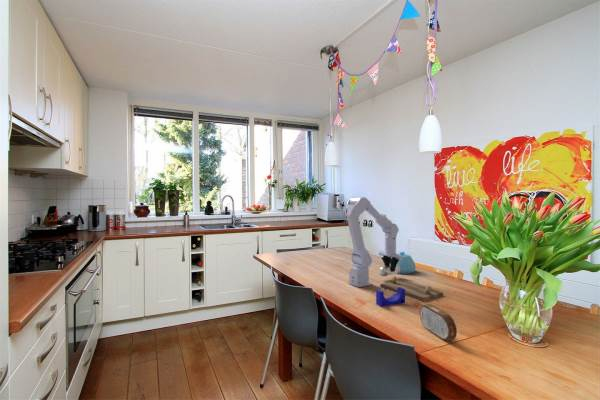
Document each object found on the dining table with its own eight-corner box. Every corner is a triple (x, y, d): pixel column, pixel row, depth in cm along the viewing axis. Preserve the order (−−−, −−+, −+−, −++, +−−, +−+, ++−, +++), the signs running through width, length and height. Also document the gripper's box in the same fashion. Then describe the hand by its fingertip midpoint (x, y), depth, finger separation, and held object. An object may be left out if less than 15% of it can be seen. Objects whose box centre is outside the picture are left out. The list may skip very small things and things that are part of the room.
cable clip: (398, 300, 130) (398, 286, 130) (405, 303, 126) (405, 289, 126) (374, 303, 127) (374, 289, 126) (380, 307, 122) (380, 292, 122)
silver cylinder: (384, 276, 157) (384, 268, 157) (378, 274, 160) (378, 267, 160) (401, 272, 164) (401, 265, 164) (396, 271, 167) (396, 264, 167)
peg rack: (423, 301, 128) (423, 291, 128) (380, 287, 148) (380, 277, 148) (442, 295, 135) (442, 285, 135) (399, 282, 155) (399, 273, 155)
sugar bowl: (419, 274, 171) (419, 254, 171) (392, 274, 171) (392, 254, 171) (410, 268, 186) (410, 249, 186) (385, 268, 186) (385, 249, 186)
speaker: (457, 344, 91) (457, 317, 91) (448, 345, 91) (448, 318, 90) (425, 324, 106) (426, 300, 106) (418, 324, 105) (418, 300, 105)
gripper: (406, 246, 157) (406, 272, 158) (385, 243, 170) (385, 267, 170) (397, 248, 154) (397, 274, 154) (376, 244, 166) (376, 268, 166)
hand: (390, 270), depth 162 cm, fingers closed on silver cylinder, 3 cm apart
